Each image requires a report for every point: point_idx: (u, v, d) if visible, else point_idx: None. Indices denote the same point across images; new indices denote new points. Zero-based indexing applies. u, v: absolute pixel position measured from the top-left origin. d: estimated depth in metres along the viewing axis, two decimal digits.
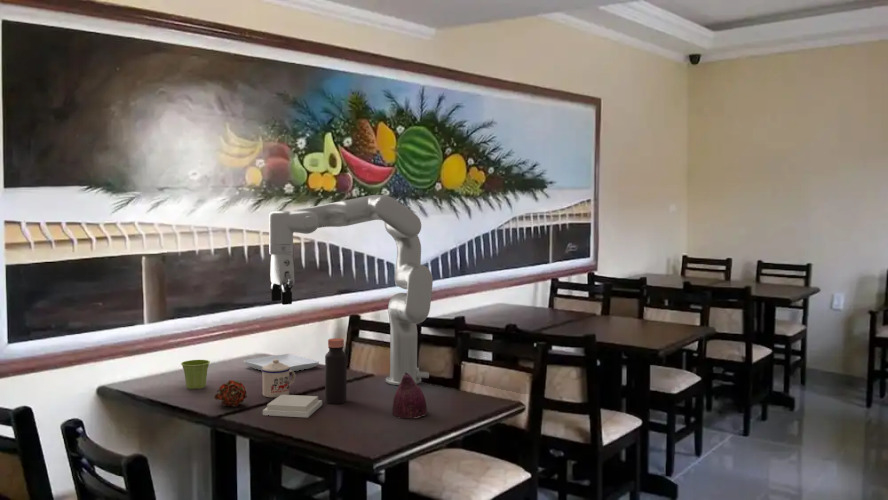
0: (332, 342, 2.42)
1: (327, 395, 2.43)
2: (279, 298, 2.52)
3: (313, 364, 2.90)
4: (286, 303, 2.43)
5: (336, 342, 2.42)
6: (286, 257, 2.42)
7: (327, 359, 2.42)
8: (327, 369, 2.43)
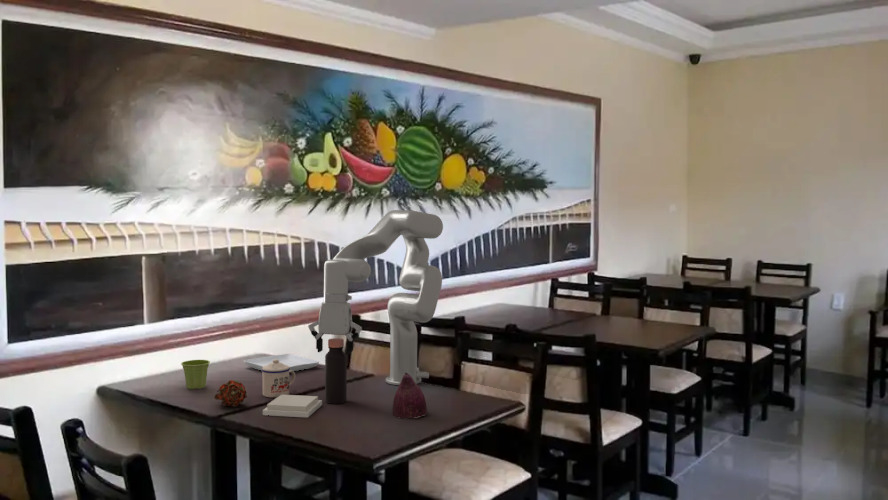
0: (332, 342, 2.42)
1: (327, 395, 2.43)
2: (322, 348, 2.46)
3: (313, 364, 2.90)
4: (350, 352, 2.43)
5: (336, 342, 2.42)
6: (349, 306, 2.43)
7: (327, 359, 2.42)
8: (327, 369, 2.43)
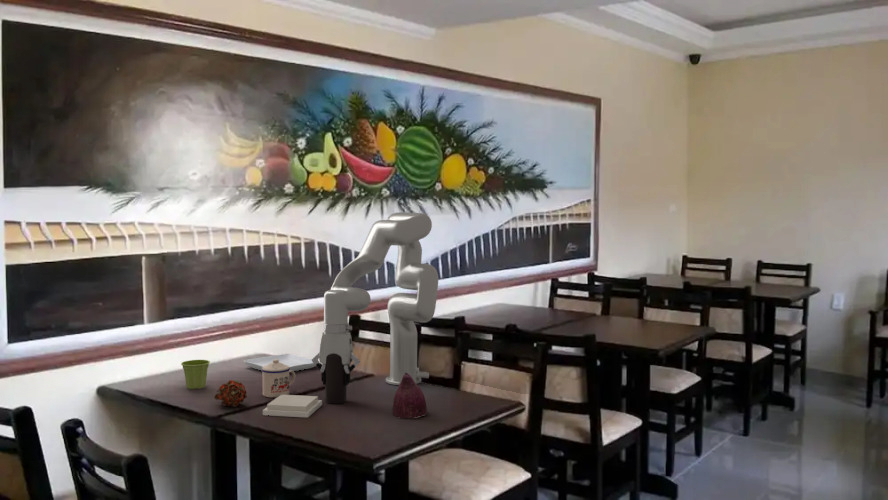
0: None
1: (327, 395, 2.43)
2: None
3: (313, 364, 2.90)
4: (347, 384, 2.45)
5: None
6: (349, 336, 2.44)
7: (327, 359, 2.42)
8: (327, 369, 2.43)
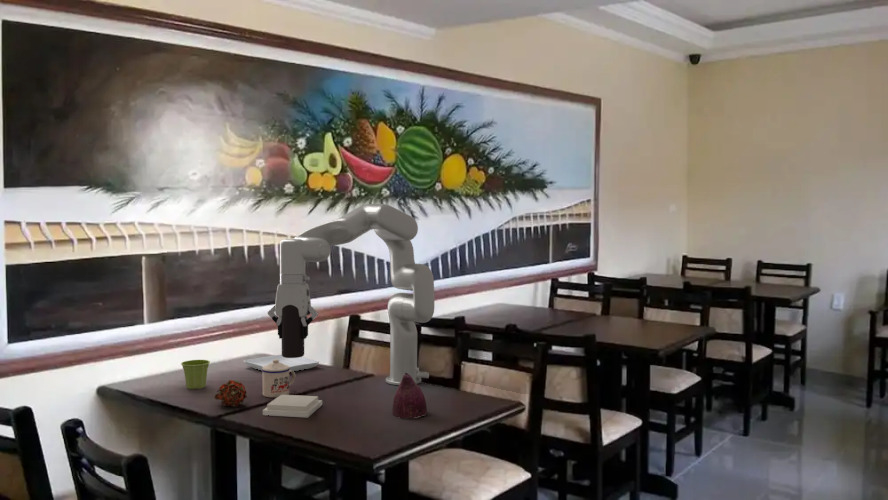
0: None
1: (283, 349, 2.32)
2: None
3: (313, 364, 2.90)
4: (304, 337, 2.33)
5: None
6: (307, 287, 2.32)
7: (283, 311, 2.31)
8: (283, 321, 2.31)
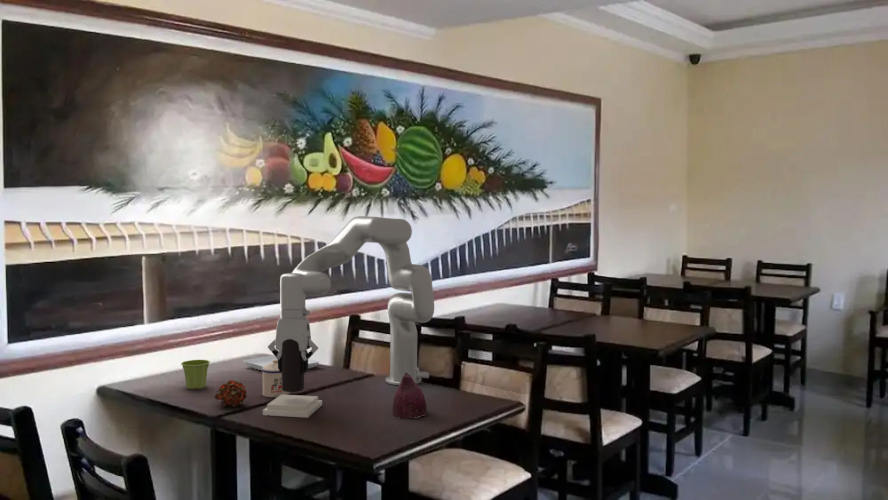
0: None
1: (283, 383, 2.32)
2: None
3: (313, 364, 2.90)
4: (304, 371, 2.34)
5: None
6: (307, 321, 2.33)
7: (283, 345, 2.32)
8: (283, 356, 2.32)
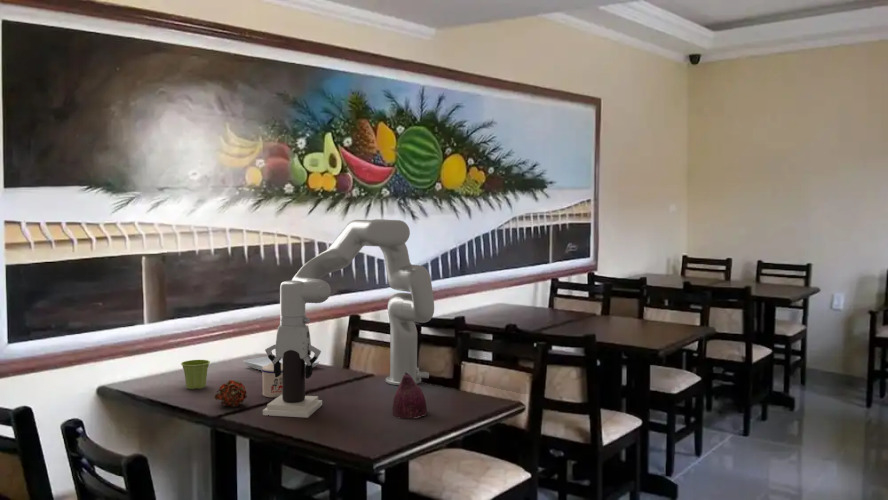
0: None
1: (284, 393, 2.33)
2: (280, 373, 2.36)
3: (313, 364, 2.90)
4: (309, 376, 2.34)
5: None
6: (307, 329, 2.33)
7: (284, 356, 2.32)
8: (284, 366, 2.32)
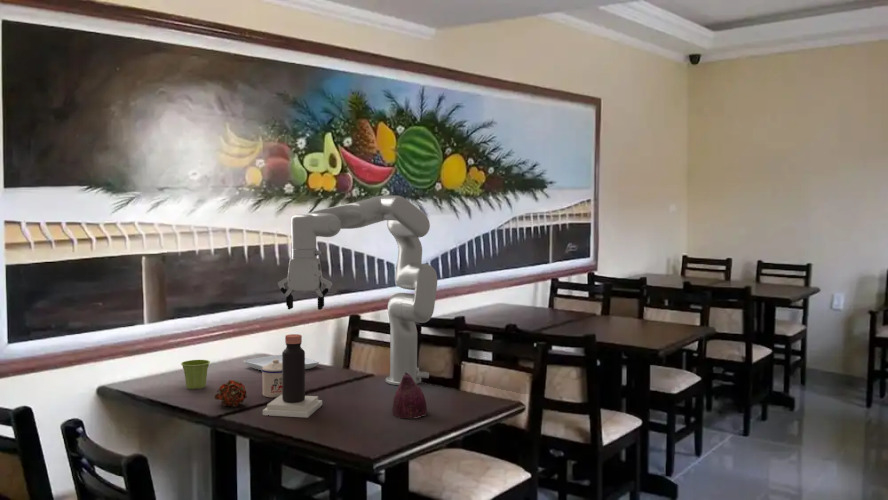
0: (289, 338, 2.32)
1: (284, 393, 2.33)
2: (292, 305, 2.41)
3: (313, 364, 2.90)
4: (321, 308, 2.39)
5: (293, 338, 2.32)
6: (318, 261, 2.38)
7: (284, 356, 2.32)
8: (284, 366, 2.32)
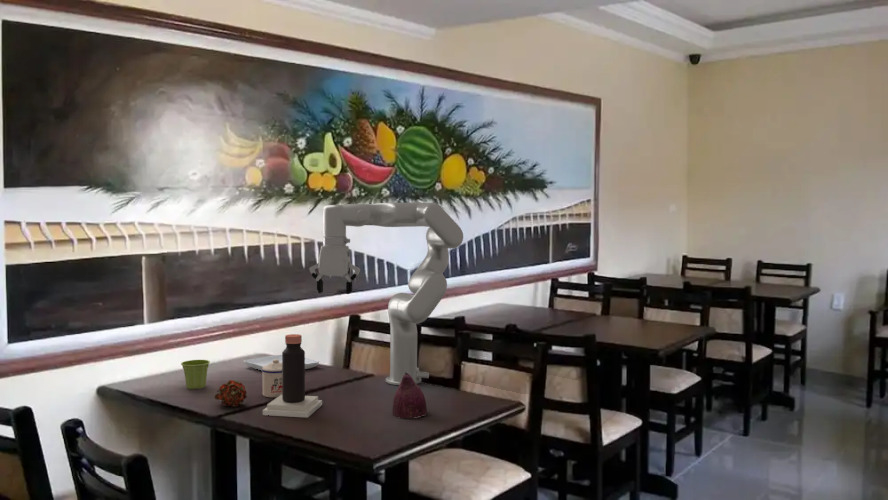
0: (289, 338, 2.32)
1: (284, 393, 2.33)
2: (322, 290, 2.57)
3: (313, 364, 2.90)
4: (349, 292, 2.55)
5: (293, 338, 2.32)
6: (347, 248, 2.54)
7: (284, 356, 2.32)
8: (284, 366, 2.32)
